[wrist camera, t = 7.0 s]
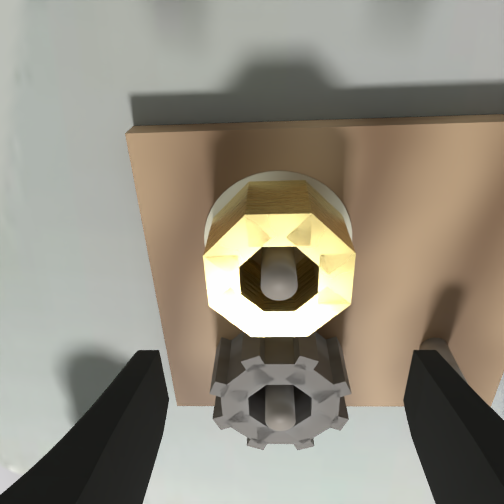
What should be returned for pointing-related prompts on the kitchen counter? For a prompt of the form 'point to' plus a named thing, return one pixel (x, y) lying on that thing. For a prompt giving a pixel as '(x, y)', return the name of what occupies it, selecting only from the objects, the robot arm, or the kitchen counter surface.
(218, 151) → the gear board
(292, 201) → the brass gear
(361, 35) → the kitchen counter surface
